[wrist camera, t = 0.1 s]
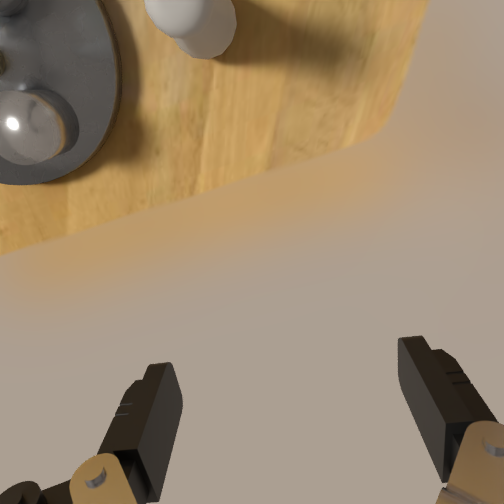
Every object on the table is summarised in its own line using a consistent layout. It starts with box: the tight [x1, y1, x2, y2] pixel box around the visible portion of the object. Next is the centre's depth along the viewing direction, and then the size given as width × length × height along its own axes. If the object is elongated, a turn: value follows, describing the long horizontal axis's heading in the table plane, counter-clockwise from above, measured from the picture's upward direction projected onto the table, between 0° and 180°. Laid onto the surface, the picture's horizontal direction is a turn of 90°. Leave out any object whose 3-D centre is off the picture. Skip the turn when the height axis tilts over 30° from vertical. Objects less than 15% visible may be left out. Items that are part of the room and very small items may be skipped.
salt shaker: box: [144, 0, 237, 59], centre depth 28 cm, size 6×6×13 cm
